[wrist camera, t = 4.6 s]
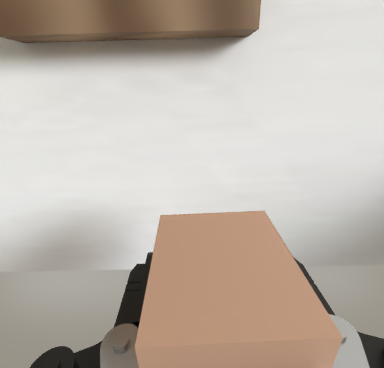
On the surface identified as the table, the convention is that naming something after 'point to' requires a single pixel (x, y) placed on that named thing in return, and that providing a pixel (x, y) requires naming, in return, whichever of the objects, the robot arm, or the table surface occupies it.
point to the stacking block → (230, 299)
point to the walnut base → (126, 19)
